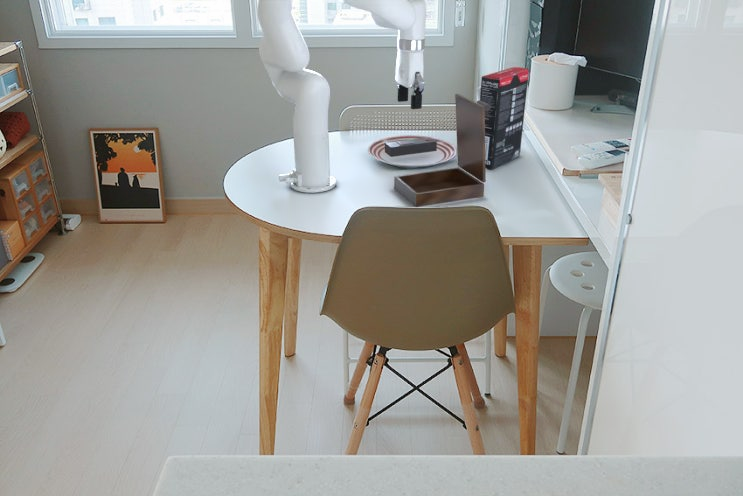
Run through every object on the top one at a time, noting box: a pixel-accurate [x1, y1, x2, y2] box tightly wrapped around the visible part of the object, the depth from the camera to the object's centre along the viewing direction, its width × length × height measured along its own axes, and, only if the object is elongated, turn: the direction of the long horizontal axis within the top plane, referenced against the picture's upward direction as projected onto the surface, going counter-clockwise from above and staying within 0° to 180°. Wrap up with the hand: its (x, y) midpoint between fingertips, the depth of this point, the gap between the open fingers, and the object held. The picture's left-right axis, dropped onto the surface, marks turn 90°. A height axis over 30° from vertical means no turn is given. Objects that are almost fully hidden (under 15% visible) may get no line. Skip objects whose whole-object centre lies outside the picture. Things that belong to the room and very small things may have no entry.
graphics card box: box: [480, 66, 530, 170], centre depth 209 cm, size 17×7×27 cm, turn 141°
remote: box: [385, 136, 437, 157], centre depth 213 cm, size 15×5×3 cm, turn 111°
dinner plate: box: [367, 134, 457, 169], centre depth 217 cm, size 27×27×3 cm
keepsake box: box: [393, 166, 485, 208], centre depth 189 cm, size 20×15×4 cm
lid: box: [454, 93, 491, 184], centre depth 187 cm, size 20×15×5 cm
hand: (409, 104), depth 207 cm, fingers open, 9 cm apart
